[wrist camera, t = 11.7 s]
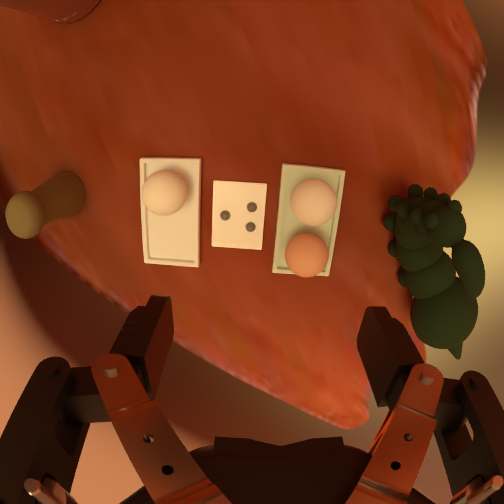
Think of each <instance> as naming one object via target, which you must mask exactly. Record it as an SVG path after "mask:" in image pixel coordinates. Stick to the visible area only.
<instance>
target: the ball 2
mask: <svg viewBox="0 0 504 504" xmlns="http://www.w3.org/2000/svg"><path fill="white" fill-rule="evenodd" d="M290 205H291V210H292V212H293V214H294V216H295V217H296V218H297V219H298V220H299V221H300V222H302V223H304V224H306V225H309V226H319V225H322V224H324V223H326V222H328V221H329V220H330V219H331V218H332V217H333V215H334V213H335V211H336V208H337V197H336V194H335V192H334V190H333V189H332V187H331V186H330V185H329V184H327V183H326V182H324V181H322V180H319V179H308V180H305V181H303V182H301V183H300V184H298V185H297V186H296V187H295V189H294V190H293V192H292V195H291V199H290Z"/></svg>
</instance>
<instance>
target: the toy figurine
mask: <svg viewBox="0 0 504 504" xmlns="http://www.w3.org/2000/svg"><path fill="white" fill-rule="evenodd" d="M423 194H424V196H423ZM408 195H409V198H407V199H405V200H404V201H403V199H402V198H401V197H400V196H397V195H396V196H391V197H390V198H389V200H388V206H389V208H390V210H391V211H395V212H396V214H393V213H389V214H387V215H386V216H385V217H384V219H383V224H384V226H385V228H386V229H387V230H390V231H392V230H394V234H395V237H396V240H395V241H393V242H391V243H390V244H389V253H390V254H391V255H392V256H393V257H397V260H398V261H399V263H400V264H401V266H402V267H403V268H404V269H403V270H401V271H400V273H399V274H398V282H399V283H400V284H401V286H404V287H407V288H408V290H409V292H410V293H411V294H412V295H413V296H414V298H413V301H412V304H411V310H410V316H411V322H412V326H413V329H414V331H415V333H416V335H417V337H418V338H419V339H420V340H421V341H422V342H423V343H425V344H427V345H429V346H431V347H434V348H439V349H448V350H449V351H450V352H451V354H452V355H453V356H454V357H455V358H456V359H460V357H461V352H462V343H463V341H464V340H466V338H467V337H468V336H469V335H470V333H471V332H472V330H473V328H474V326H475V323H476V320H477V316H478V304H477V300H476V298H477V297H478V296H479V295H480V294H481V292H482V290H483V288H484V285H485V270H484V264H483V261H482V257H481V255H480V253H479V251H478V249H477V248H476V247H475V245H474V244H472V243H471V242H469V241H466V240H464V239H463V238H464V236H465V233H466V222H465V219H464V217H463V215H462V213H461V211H462V206H461V204H460V202H459V201H457V200H452V201H451V198H450V196H449V195H448V194H445V193H442V194H439V195H438V194H437V191H436V190H435V189H434V188H431V187H429V188H427V189H425V191H424V193H423V189H422V187H420V186H419V185H411V186H410V187H409V189H408ZM422 196H423V197H422ZM443 247H447V248H448V247H451V248H452V259H451V258H450V257H449V255H448V254H446V253H445V252H444V251H443ZM455 270H456V271H455ZM456 272H457V274H458V276H459V277H460V278H458V277H456Z"/></svg>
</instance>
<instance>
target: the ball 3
mask: <svg viewBox="0 0 504 504" xmlns="http://www.w3.org/2000/svg"><path fill="white" fill-rule="evenodd" d="M328 259H329V251H328V247H327V245H326V243H325V242H324V240H323V239H322V238H320V237H319V236H318V235H316V234H313V233H301V234H298V235H296V236H294V237H293V238H292V239H291V240H290V241H289V242H288V244H287V246H286V249H285V261H286V264H287V266H288V268H289V269H290V270H291V271H292V272H293V273H294V274H296V275H298V276H301V277H312V276H315V275H317V274H319V273H320V272H322V271H323V269H324V268H325V267H326V265H327V263H328Z"/></svg>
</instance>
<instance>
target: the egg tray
mask: <svg viewBox="0 0 504 504" xmlns="http://www.w3.org/2000/svg"><path fill="white" fill-rule="evenodd" d="M201 163H202V158H175V157H143V158H140V195H141V219H142V237H143V251H144V263H153V264H165V265H177V266H189V267H199V264H200V201H201ZM159 170H170V171H173V172H175V173H177V174H179V175H180V176H181V177H182V179H183V180H184V182H185V184H186V187H187V197H186V201H185V203H184V205H183V206H182V207H181V209H180V210H178V211H177V212H176V213H174V214H171V215H168V216H160V215H156V214H154V213H152V212H150V211H149V210H148V209H147V208H146V206H145V205H144V203H143V200H142V187H143V184H144V182H145V180H146V179H147V178H148V177H149V176H150V175H151V174H152V173H154V172H156V171H159Z"/></svg>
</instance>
